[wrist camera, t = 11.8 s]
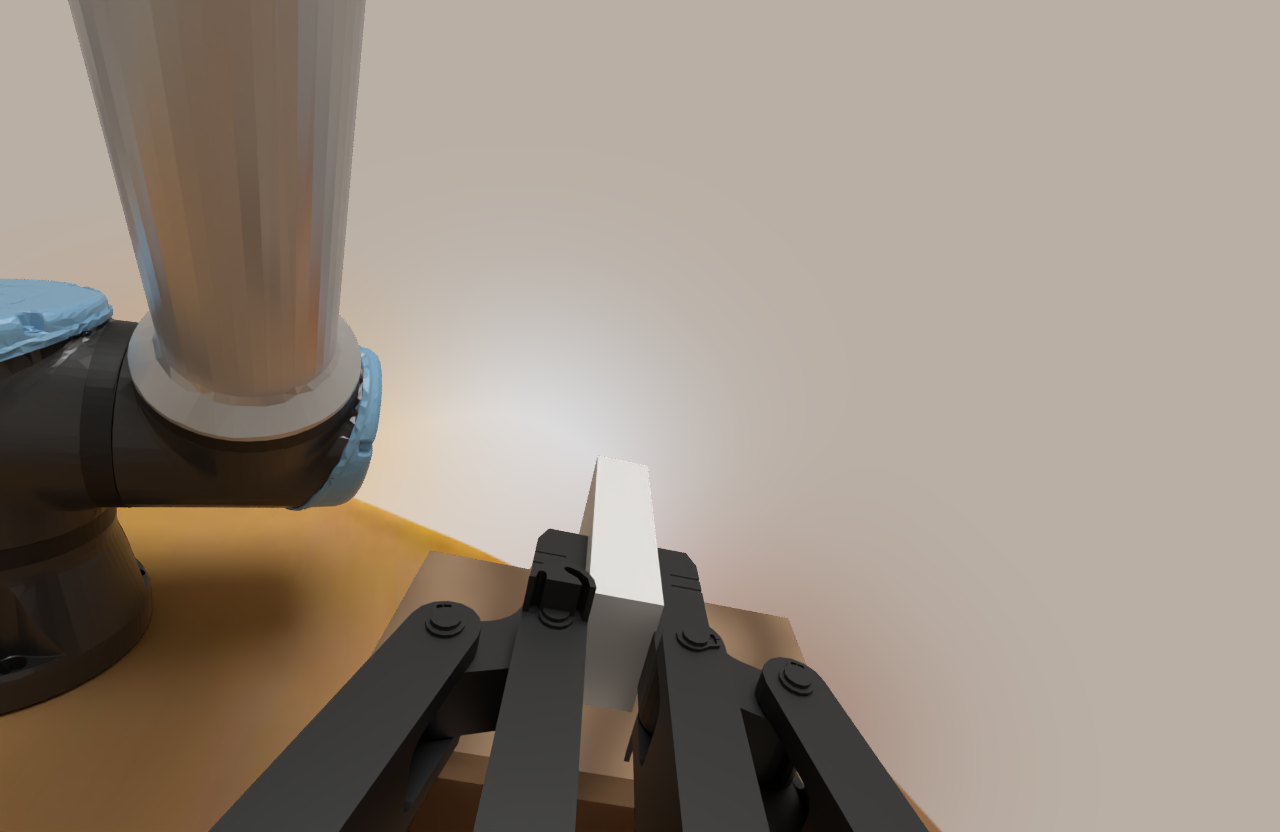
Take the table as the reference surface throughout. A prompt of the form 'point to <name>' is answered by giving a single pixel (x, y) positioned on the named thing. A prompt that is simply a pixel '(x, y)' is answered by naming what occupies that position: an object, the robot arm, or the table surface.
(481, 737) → the tunnel
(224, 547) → the table surface
